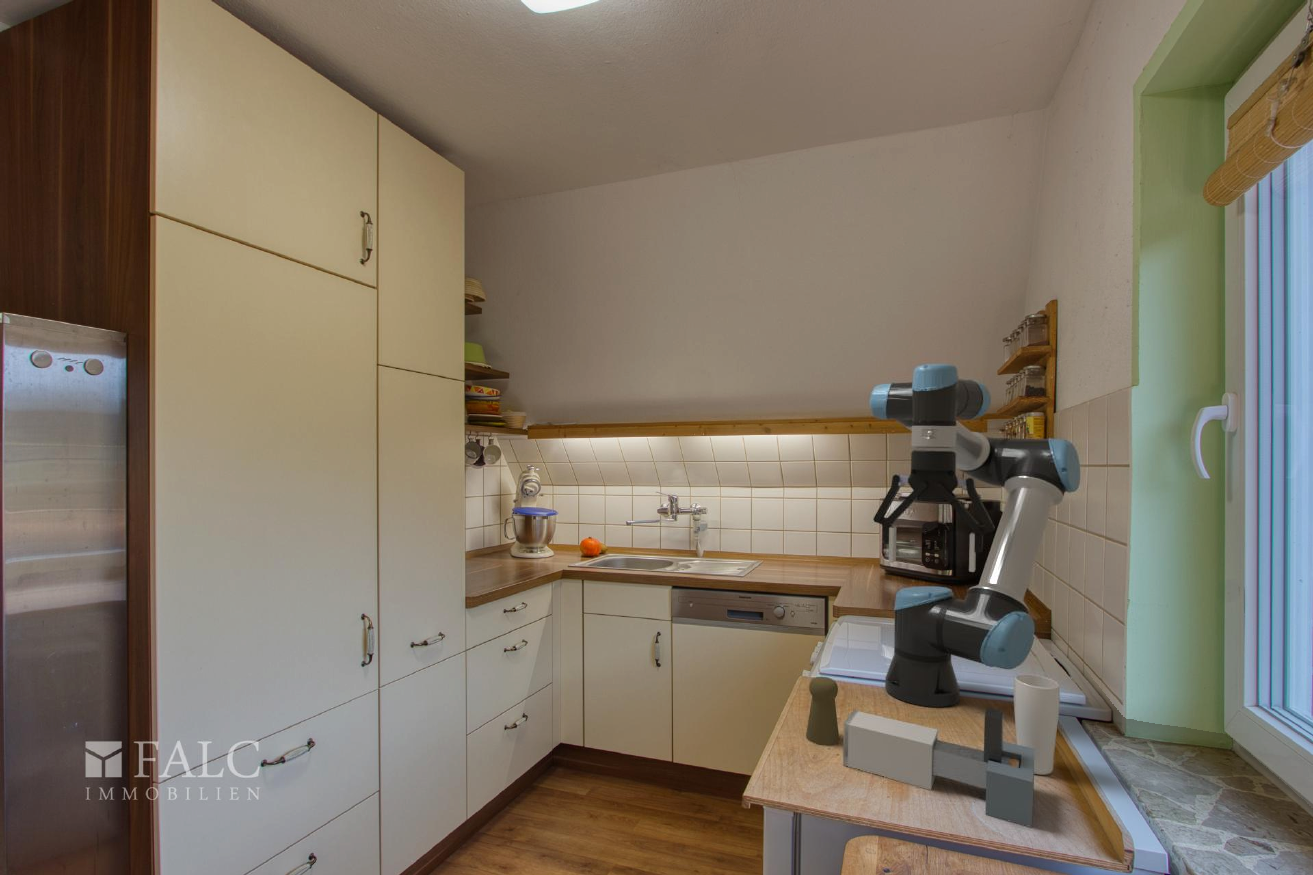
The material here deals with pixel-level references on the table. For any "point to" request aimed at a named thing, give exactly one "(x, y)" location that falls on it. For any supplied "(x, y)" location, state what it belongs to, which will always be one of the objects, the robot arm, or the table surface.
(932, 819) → the table surface
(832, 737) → the olive knob-topped post
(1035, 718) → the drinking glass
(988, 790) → the socket
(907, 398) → the robot arm
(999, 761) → the sliding bolt
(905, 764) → the sleeve
